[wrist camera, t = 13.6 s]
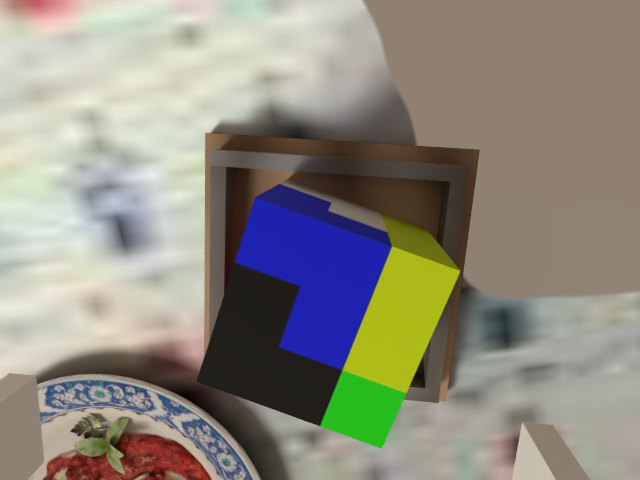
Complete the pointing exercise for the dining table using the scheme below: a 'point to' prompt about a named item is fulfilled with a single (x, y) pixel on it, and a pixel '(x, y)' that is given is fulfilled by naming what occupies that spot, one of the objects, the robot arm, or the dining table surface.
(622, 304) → the dining table surface
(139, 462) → the ceramic plate
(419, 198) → the pocket board
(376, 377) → the puzzle toy
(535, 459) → the robot arm
